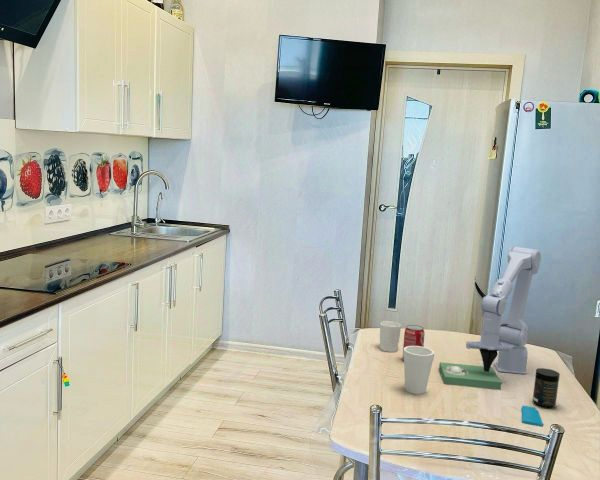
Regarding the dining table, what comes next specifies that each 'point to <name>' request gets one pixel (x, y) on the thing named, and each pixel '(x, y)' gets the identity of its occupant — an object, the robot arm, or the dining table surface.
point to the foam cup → (417, 368)
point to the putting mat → (470, 376)
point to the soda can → (413, 336)
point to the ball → (456, 369)
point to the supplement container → (545, 388)
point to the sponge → (531, 416)
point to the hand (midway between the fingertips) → (486, 370)
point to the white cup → (389, 336)
